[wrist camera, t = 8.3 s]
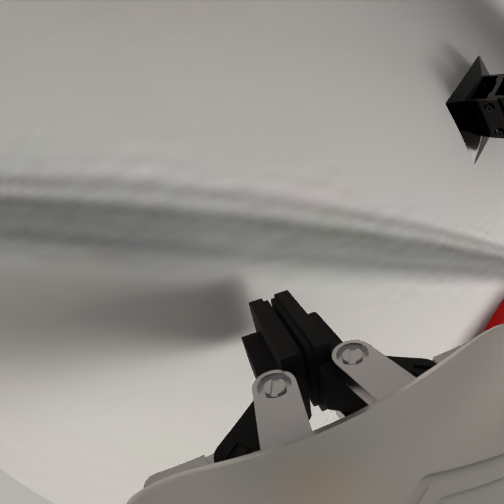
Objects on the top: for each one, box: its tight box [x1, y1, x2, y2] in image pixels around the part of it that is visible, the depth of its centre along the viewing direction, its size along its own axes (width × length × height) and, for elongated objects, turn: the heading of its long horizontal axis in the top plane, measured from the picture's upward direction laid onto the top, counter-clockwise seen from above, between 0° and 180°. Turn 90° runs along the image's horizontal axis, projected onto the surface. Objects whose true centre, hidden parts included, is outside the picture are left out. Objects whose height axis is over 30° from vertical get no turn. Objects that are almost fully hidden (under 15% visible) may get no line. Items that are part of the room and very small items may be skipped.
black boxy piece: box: [446, 56, 504, 164], centre depth 12 cm, size 12×7×5 cm, turn 135°
